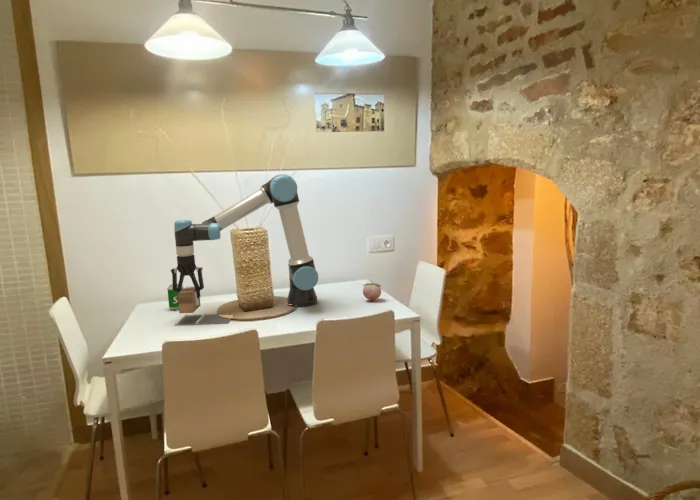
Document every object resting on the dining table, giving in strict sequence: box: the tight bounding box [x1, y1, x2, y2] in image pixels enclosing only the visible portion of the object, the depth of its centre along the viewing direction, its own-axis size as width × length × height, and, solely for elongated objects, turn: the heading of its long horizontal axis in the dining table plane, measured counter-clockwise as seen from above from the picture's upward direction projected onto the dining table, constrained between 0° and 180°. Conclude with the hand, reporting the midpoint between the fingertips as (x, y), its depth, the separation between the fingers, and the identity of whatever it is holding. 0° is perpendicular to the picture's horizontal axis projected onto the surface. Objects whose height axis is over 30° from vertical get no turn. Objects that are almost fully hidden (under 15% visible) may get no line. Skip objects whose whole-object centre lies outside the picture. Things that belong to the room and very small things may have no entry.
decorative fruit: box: [362, 281, 382, 302], centre depth 255 cm, size 9×8×10 cm
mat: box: [173, 313, 232, 327], centre depth 233 cm, size 24×16×1 cm, turn 91°
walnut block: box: [178, 285, 201, 314], centre depth 231 cm, size 12×6×9 cm, turn 1°
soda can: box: [167, 283, 185, 311], centre depth 253 cm, size 8×8×12 cm
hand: (189, 305), depth 231 cm, fingers closed on walnut block, 6 cm apart
